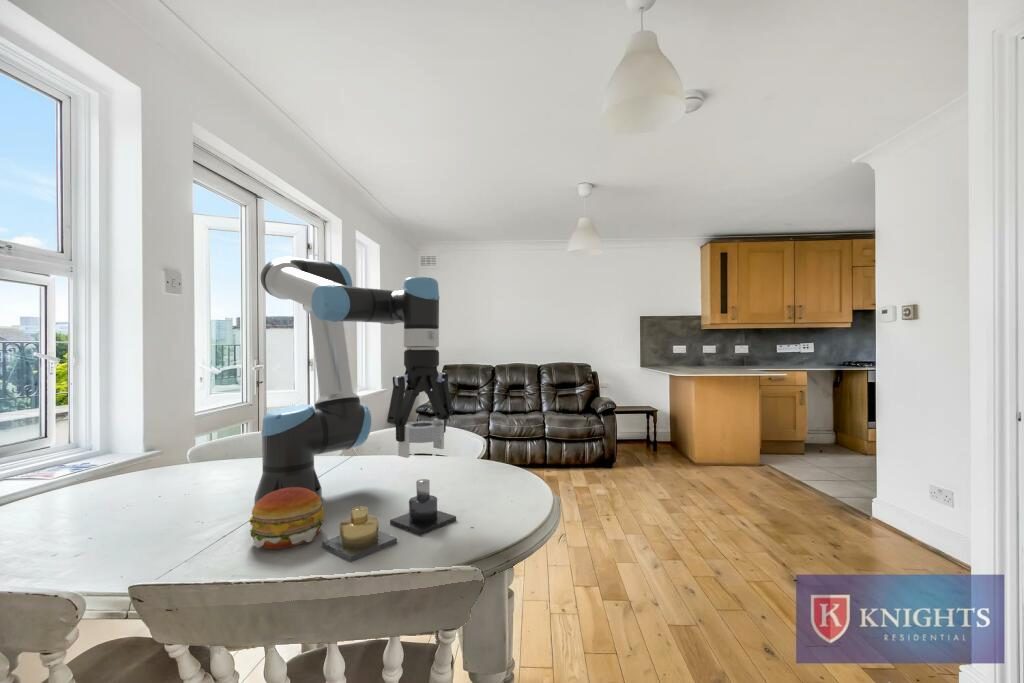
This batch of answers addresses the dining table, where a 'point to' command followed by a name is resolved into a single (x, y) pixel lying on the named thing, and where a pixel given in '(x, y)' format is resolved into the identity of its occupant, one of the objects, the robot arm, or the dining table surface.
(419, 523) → the stand
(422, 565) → the dining table surface
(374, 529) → the hub
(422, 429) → the grey faceted ring
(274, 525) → the burger
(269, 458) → the robot arm
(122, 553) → the dining table surface
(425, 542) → the dining table surface
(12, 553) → the dining table surface
